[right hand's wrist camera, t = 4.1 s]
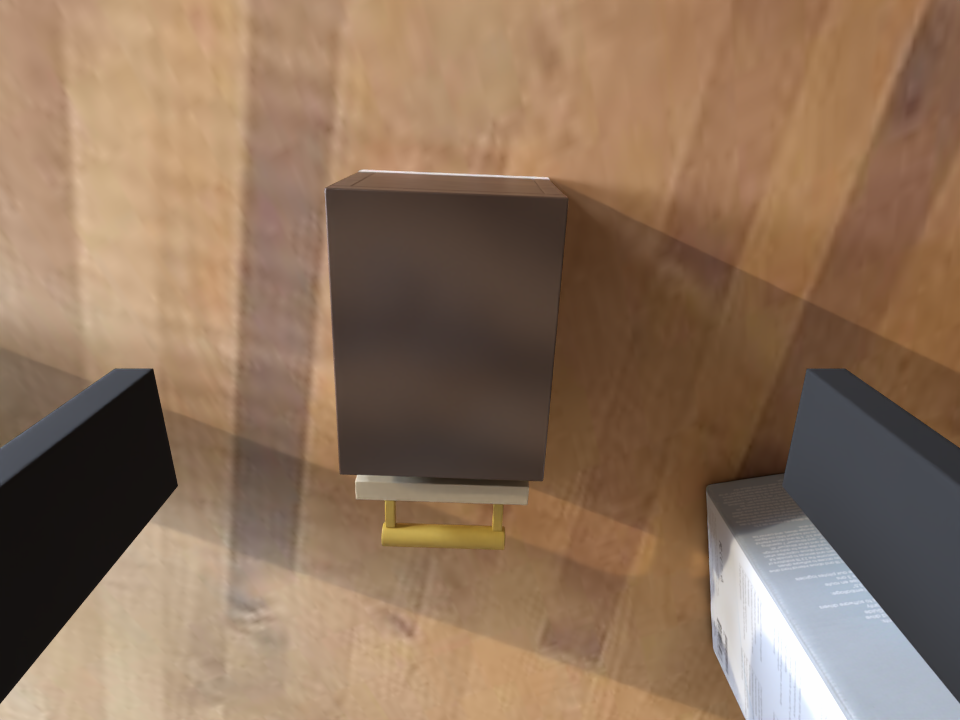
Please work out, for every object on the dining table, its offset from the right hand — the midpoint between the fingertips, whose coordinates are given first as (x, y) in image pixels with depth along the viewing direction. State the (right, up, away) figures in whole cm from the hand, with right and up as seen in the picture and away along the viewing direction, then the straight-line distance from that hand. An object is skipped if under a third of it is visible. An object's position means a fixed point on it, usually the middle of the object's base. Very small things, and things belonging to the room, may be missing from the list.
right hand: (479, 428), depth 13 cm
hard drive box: (+21, -13, +33) cm, 41 cm away
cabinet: (-2, +5, +25) cm, 26 cm away
